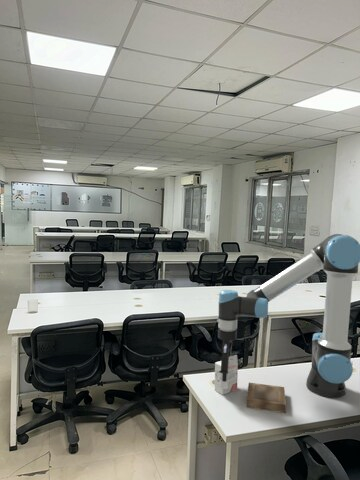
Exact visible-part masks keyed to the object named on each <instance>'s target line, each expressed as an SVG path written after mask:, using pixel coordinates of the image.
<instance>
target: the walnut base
mask: <svg viewBox="0 0 360 480" xmlns="http://www.w3.org/2000/svg"><path fill="white" fill-rule="evenodd" d="M245 406H246V408H250V409H256V410H257V409H258V410H263V411H270V412H277V413H283V414H286V411H287V409H286V408H287V401H286V392H285V386H281V385H270V384H263V383H256V382H248V386H247V395H246V405H245Z"/></svg>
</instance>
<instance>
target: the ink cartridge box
mask: <svg viewBox="0 0 360 480" xmlns="http://www.w3.org/2000/svg"><path fill="white" fill-rule="evenodd" d="M238 362H239V361H238V355H237V354H234V355H232V356H230V357H229V363H228V389H223V388H221V373H219V371H221V360H220V361H216V362H214V391H215V392H216V393H218V394H220V395H222V396H223V395H226V394H228V393H231V392H234V391H237V390H238V376H239V375H238V372H239V371H238V369H239V368H238V367H239V365H238V364H239V363H238Z"/></svg>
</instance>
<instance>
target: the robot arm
mask: <svg viewBox="0 0 360 480" xmlns="http://www.w3.org/2000/svg"><path fill="white" fill-rule="evenodd" d="M359 264H360V242H359V241H358V240H357V239H356V238H354V237H352V236H350V235H347V234H340V233H336V234H332V235H330V236H328V237H326V238H325V239H324V240H323V241H321V242H319V244H317V245H316V246H315V247H313V248H311V249H310V253H308V254H307V255H305V256H304V257H302V258H301V259H299V260H298V261H296V262H294V263H293V264H291V265H290V266H289V267H286V268H285V269H284V270H283V271H282V270H281V272H280V273H278V274H276V275H275V276H273V277H272V278H269V280H266V282H264V283H262V284H261V285H260V286H258V287H257V288H255V289H251V290H249V292H247V294H246V296H239V293H238V291H236V290H232V289H224V290H223V289H222V290H221V291H220V292H219V295H218V296H219V297H218V319H216V323H218V324H217V325H218V326H217V327H218V329H217V338H218V339H219V340H221V341H222V343H221V360H220V361H221V371H219V373H221V388H223V389H228V363H229V357H230V356H233V354H232V352H233V351H232V350H233V348H232V347H233V341H235V340H236V339H237V335H238V331H237V329H238V316H240V317H250V318H252V317H253V318H258V319H259V318H263V319H264V318H268V316H269V315H268V314H269V303H270V301H272V300H274V299H276V298H277V297H278V296H280V295H282V294H284V293H286V292H287V291H289V290H290V289H291V288H293V287H294V286H297V284H300V283H301V282H303V281H304V280H306V279H307V278H309V277H312V276H313V274H316V273H317V272H319V271H320V270H321V269H322V270H323V272H325V274H326V286H325V301H324V310H323V311H324V313H323V314H324V315H323V325H322V332H315V333H313V334H312V339H311V340H312V347H311V348H312V349H311V367H310V370H309V374H308V375H307V378H306V388H307V389H308V390H309V391H310V392H312V393H314V394H316V395H318V396H322V397H326V398H342V397H343V396H345V395H346V390H347V387H346V383H345V382H347V381H348V380H349V379H350V378H351V377H352V375H353V364H352V360H351V358H352V345H351V343H350V342H348V338H349V327H350V326H349V325H350V315H351V313H350V312H351V301H352V289H353V279H354V277H355V276H356V275H358V273H359Z"/></svg>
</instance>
